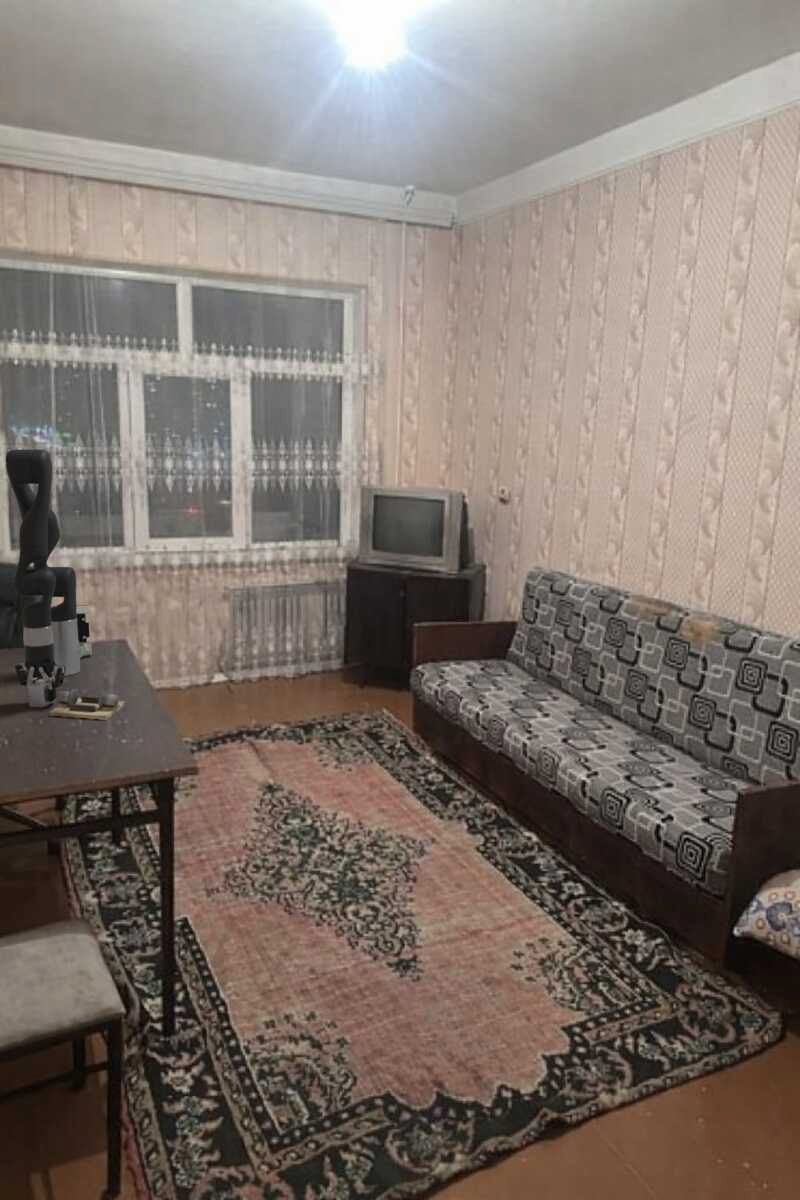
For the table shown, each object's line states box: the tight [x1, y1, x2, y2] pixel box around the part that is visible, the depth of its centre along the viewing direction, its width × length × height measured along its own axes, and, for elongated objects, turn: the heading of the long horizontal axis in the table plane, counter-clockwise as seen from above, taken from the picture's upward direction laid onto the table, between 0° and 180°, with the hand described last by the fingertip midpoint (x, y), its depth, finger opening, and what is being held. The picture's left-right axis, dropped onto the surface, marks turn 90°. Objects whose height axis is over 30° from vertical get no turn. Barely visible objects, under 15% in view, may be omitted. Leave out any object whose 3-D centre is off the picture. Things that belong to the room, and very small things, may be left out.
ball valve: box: [76, 604, 93, 659], centre depth 276 cm, size 18×8×18 cm, turn 18°
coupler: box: [27, 678, 57, 708], centre depth 232 cm, size 6×5×6 cm
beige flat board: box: [48, 688, 127, 721], centre depth 227 cm, size 12×16×6 cm
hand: (42, 700), depth 232 cm, fingers open, 5 cm apart
